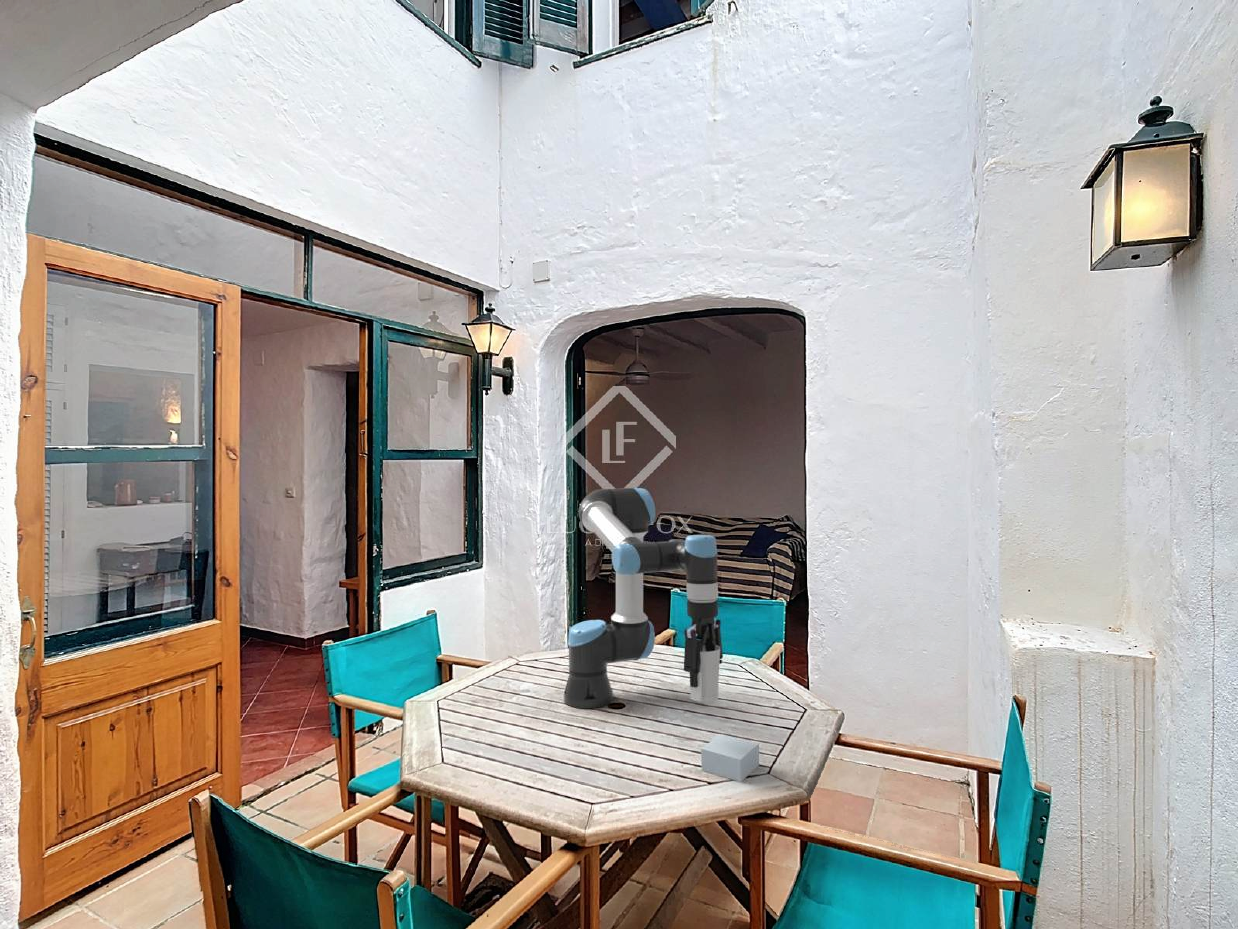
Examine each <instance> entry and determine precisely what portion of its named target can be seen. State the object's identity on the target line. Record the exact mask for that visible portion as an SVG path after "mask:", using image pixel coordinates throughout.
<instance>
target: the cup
mask: <svg viewBox="0 0 1238 929" xmlns="http://www.w3.org/2000/svg"><path fill="white" fill-rule="evenodd" d="M700 658H701V663H700V670H699V672H700V673H701V677H702V701H701V702H700V701H696V700H694V701H695V702H697V703H698V702H700V703H712V702H716V701H717V700H718V699H719V691H718V687H719V683H720V682H719V681H720V680H719V679H720V678H719V677H720V664H719V661H720V660H721V659H720V647H719V646H718V645H715V651H710V652H707V651H706V648H705V644H704V645H703V651H702V652H700Z"/></svg>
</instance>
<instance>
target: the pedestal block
mask: <svg viewBox="0 0 1238 929" xmlns="http://www.w3.org/2000/svg"><path fill="white" fill-rule="evenodd" d="M700 754H701V755H700V763H701V764H700V765H701V771H703V772H705V773H710V774H713V775H716V776H719V777H722V778H726V779H729V780H733V781H736V782H740V783H742V781H744V780H745V779H746V778H747V777H748V776H749V775H750V774H752V773H753V771H754V770H756V769H757V768H758V767H759V766H760V743H759V742H758V743H757V742H753V741H749V740H745V739H741V738H737V737H734V736H729V735H727V734H723V733H720V734H719V735H718V736H716V737H715V738H713V739H712V740H711V741H709V742H708V743H707V744H705V745H704V746H703V747H702V748H700Z"/></svg>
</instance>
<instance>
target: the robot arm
mask: <svg viewBox="0 0 1238 929" xmlns="http://www.w3.org/2000/svg"><path fill="white" fill-rule="evenodd" d="M578 518H579V520H580V522H581V524H582V526H583V527H584V528H585V529H586V530H588V531H589V532H591V533H594V534H595V535H596V537H597V538H599V539H600V541H601V542H602V543H603V544H604V545H605V546H606V547H607V549H609V550H610V552H611V564H612V566H613V570H614V571H615V612H614V613H613V614H612V615H611V616H610V623H609V624H608V623H606V621H604V620H602V619H590V620H584V621H581V622H578V623H575V624H574V625H572V626H571V627H570V629H569V630H568V631H569V632H568V641H567V645H568V673H569V674H568V678H567V682H566V685H565V689H564V692H563V702H564V704H566V705H567V706H570V707H572V708H577V709H578V708H579V709H593V708H594V709H596V708H601V707H603V706H607V705H609V704H611V703H612V702H613V701H614V690H613V688H612V686H611V683H610V682H611V681H610V680H609V676H608V664H613V663H621V662H622V663H623V662H629V661H634V662H635V661H638V660H642V659H645V658H648V657H649V656H650V655H651V654H652V652H653V650H654V647H655V643H656V642H655V640H656V636H655V634H656V632H655V628H654V625H653V623H652V622H651V621H650V620H648V619H649V618H648V616H647V614H646V613H645V612H644V574H646V573H648V574H649V573H661V572H674V571H675V572H676V571H684V572H685V578H686V580H685V581H686V582H685V583H686V584H685V585H686V586H685V588H686V598H687V599H688V600H687V601H686V614H687V616H688V617H690V618H691V623H690V624H691V625H690V627H689V628H684V630H683V633H684V656H683V671H684V672H686V673H689V691H690V692H689V694H690V695H689V696H690V700H693V701H695V700H696V701H695V702H698V701H700V703H702V702H701V701H702V677H701V673H700V672H699V670H700V663H701V658H700V652H702V651H703V645H704V644H705V648H706V651H707V652H710V651H715V645H718V646H719V647H720V661H719V665H720V664H721V665H722V664H723V657H724V655H723V653H724V652H723V644H722V632H721V624H722V623H721V622H722V620H721V619H719V618H716V617H718V616H719V601H718V600H717V599H718V598H719V590H718V589H719V587H718V586H719V585H718V584H719V583H718V549H717V539H716V537H715V536H714V535H709V534H693V535H687V537H686V538H685V540H684V538H683V539H681V538H677V539H675V538H674V539H670V540H669V541H667V540H666V541H653V542H652V541H651V542H644V537H645V535H646V534H647V533H649V526H651V525H653V524H654V523H655V519H656V506H655V503H654V500H653V497H652V494H651V493H650V492H649V491H648V489H646V488H640V487H624V488H623V487H622V488H619V487H618V488H600V489H596V490H593V491H592V492H589V493H588V494H587V495H586V496H585V497H584V498H583V499H582V501H581V502H580V504H579V508H578ZM719 691H720V690H719V686H718V692H719Z"/></svg>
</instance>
